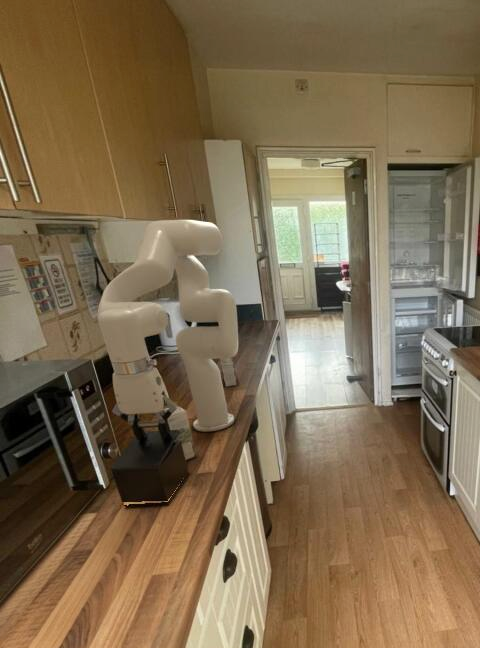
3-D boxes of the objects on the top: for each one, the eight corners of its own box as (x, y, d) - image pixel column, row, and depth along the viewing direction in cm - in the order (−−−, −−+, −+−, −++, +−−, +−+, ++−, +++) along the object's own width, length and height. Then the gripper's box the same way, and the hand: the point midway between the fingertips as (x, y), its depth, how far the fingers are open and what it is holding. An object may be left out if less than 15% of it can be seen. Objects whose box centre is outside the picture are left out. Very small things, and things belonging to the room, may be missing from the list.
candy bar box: (223, 379, 180) (215, 341, 173) (235, 377, 182) (228, 339, 175) (224, 387, 171) (216, 347, 164) (237, 385, 172) (230, 345, 166)
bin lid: (138, 434, 106) (131, 416, 104) (179, 432, 107) (174, 414, 104) (111, 471, 94) (102, 453, 91) (158, 469, 95) (151, 450, 92)
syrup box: (186, 450, 123) (175, 404, 117) (197, 456, 120) (186, 409, 114) (167, 458, 119) (154, 411, 113) (177, 465, 116) (164, 416, 110)
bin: (149, 476, 111) (139, 443, 107) (189, 474, 111) (180, 440, 107) (124, 508, 98) (111, 472, 94) (168, 505, 99) (158, 469, 95)
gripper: (177, 358, 100) (194, 427, 107) (102, 362, 99) (125, 431, 107) (164, 369, 93) (184, 442, 101) (83, 373, 92) (109, 446, 100)
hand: (153, 436), depth 104 cm, fingers closed on bin lid, 5 cm apart
